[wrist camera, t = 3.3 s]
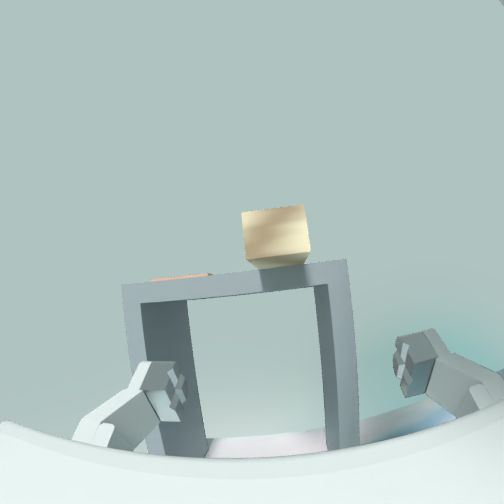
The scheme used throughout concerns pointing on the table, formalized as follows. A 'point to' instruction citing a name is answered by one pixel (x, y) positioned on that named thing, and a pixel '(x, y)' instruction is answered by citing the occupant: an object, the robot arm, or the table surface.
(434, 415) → the table surface
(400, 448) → the robot arm
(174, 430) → the shelf stand
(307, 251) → the beech handle
